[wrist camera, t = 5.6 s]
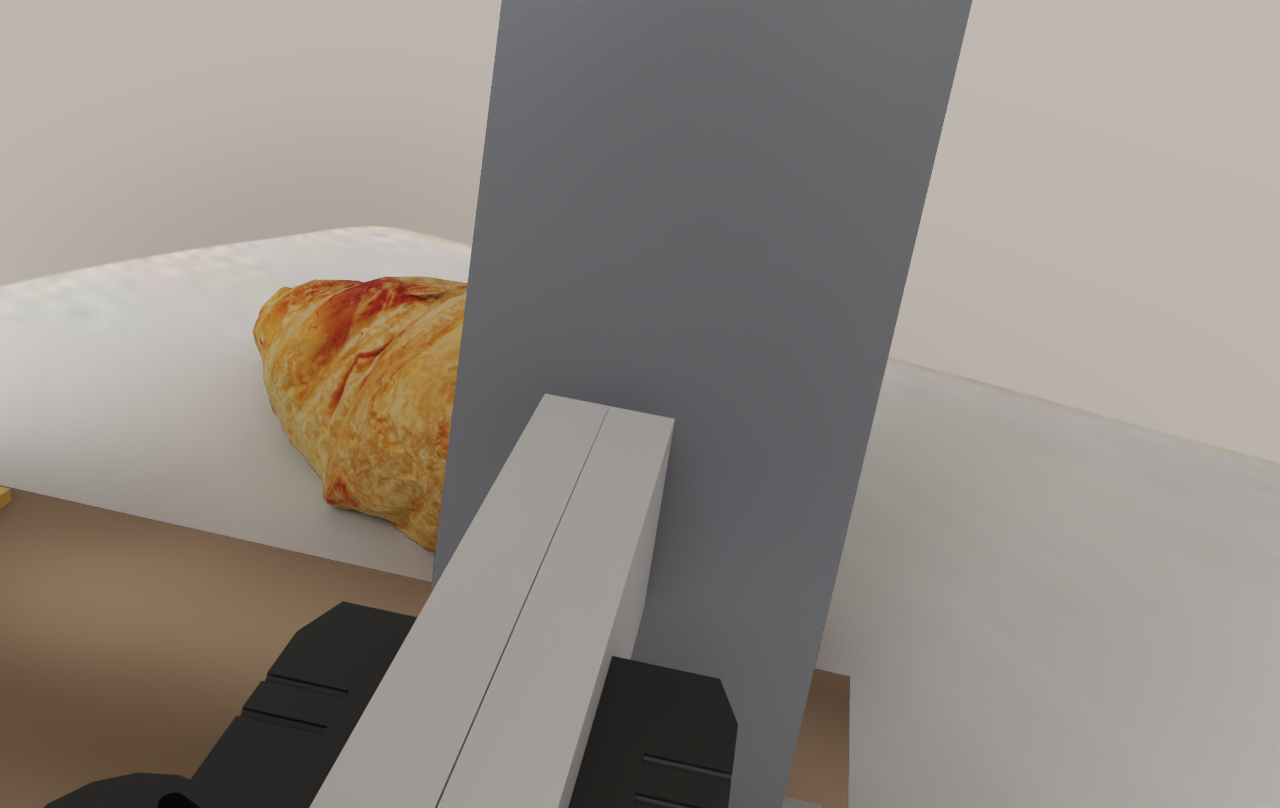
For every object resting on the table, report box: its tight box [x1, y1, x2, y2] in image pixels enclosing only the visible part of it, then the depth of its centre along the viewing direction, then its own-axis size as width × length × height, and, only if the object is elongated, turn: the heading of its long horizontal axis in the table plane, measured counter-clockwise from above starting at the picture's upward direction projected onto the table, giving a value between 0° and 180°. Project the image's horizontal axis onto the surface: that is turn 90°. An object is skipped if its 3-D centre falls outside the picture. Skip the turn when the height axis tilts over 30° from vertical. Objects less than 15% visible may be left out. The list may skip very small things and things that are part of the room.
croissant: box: [253, 277, 468, 552], centre depth 30 cm, size 21×10×8 cm, turn 54°
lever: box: [430, 0, 972, 808], centre depth 14 cm, size 2×6×15 cm, turn 80°
